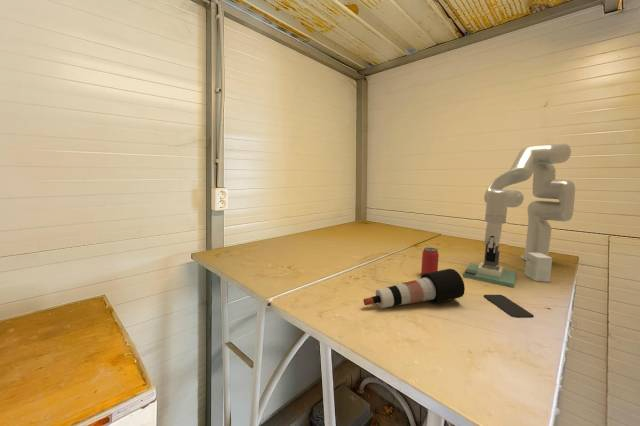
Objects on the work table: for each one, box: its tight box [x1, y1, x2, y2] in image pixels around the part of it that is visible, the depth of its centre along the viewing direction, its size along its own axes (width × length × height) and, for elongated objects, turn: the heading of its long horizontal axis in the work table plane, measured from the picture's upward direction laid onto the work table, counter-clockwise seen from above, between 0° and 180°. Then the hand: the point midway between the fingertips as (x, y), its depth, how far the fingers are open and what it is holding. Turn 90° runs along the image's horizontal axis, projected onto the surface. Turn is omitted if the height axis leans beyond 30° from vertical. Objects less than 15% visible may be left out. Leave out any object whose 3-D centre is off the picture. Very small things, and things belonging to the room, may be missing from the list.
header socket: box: [478, 262, 504, 278], centre depth 116 cm, size 8×8×2 cm
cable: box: [363, 268, 466, 309], centre depth 90 cm, size 10×34×10 cm, turn 103°
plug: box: [483, 244, 501, 267], centre depth 115 cm, size 4×5×9 cm
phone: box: [483, 294, 535, 319], centre depth 89 cm, size 7×1×15 cm
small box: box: [524, 252, 553, 283], centre depth 113 cm, size 8×6×10 cm
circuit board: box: [462, 263, 517, 288], centre depth 116 cm, size 18×18×2 cm
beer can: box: [420, 247, 440, 276], centre depth 116 cm, size 7×7×12 cm
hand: (491, 259), depth 115 cm, fingers closed on plug, 4 cm apart
